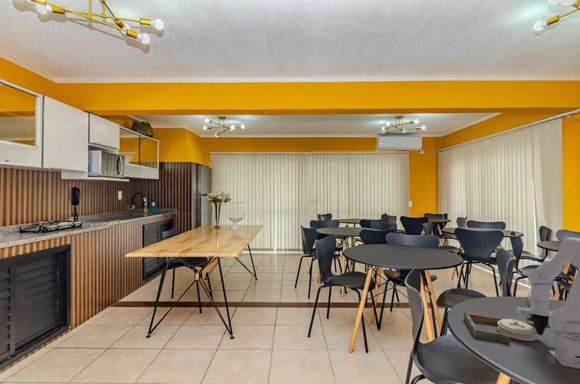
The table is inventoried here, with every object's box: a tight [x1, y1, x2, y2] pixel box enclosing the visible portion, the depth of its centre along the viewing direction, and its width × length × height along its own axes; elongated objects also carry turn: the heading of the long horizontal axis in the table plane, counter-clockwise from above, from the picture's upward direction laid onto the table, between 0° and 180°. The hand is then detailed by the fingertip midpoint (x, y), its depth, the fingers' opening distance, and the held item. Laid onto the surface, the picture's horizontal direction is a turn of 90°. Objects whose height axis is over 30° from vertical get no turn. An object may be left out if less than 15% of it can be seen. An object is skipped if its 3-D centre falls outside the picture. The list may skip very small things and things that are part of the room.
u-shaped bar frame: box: [463, 312, 536, 345], centre depth 119 cm, size 20×28×3 cm
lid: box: [496, 318, 537, 342], centre depth 119 cm, size 13×13×5 cm
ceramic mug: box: [525, 294, 552, 308], centre depth 144 cm, size 11×8×8 cm
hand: (539, 333), depth 115 cm, fingers closed
